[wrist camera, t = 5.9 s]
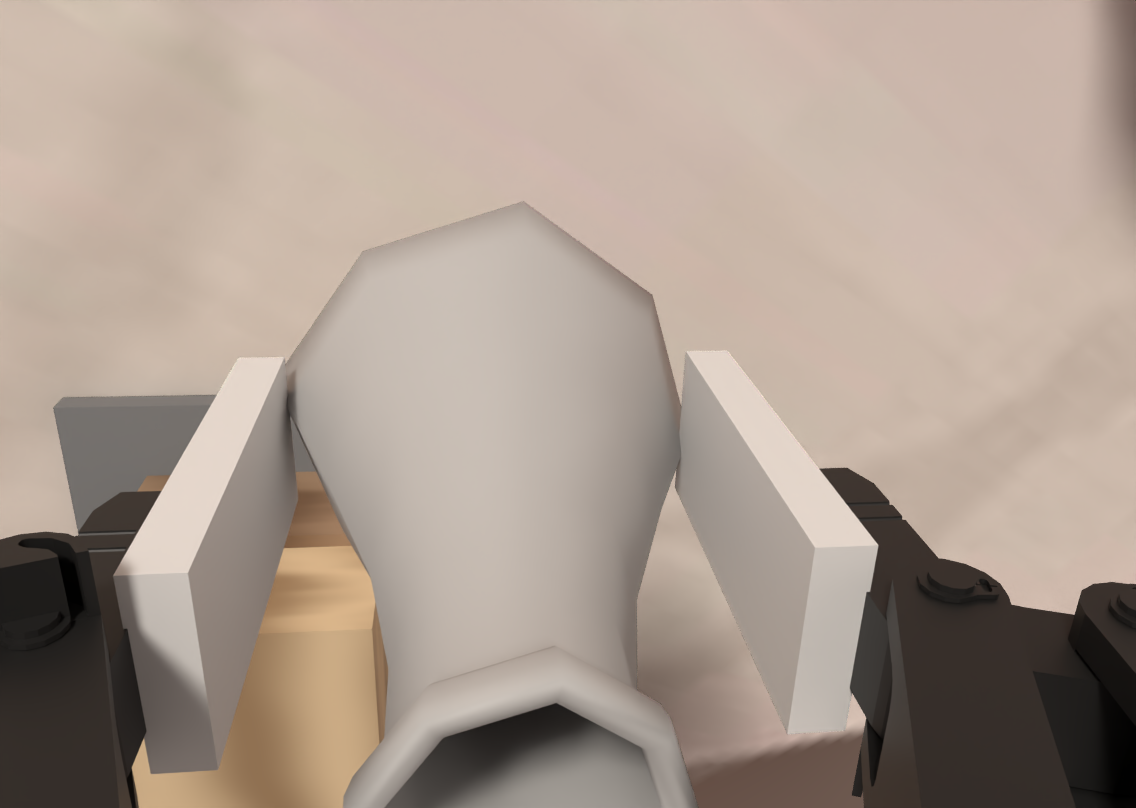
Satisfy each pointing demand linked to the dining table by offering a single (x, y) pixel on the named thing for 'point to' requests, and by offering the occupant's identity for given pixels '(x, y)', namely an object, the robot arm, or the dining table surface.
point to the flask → (499, 511)
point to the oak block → (296, 696)
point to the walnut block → (296, 513)
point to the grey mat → (130, 443)
